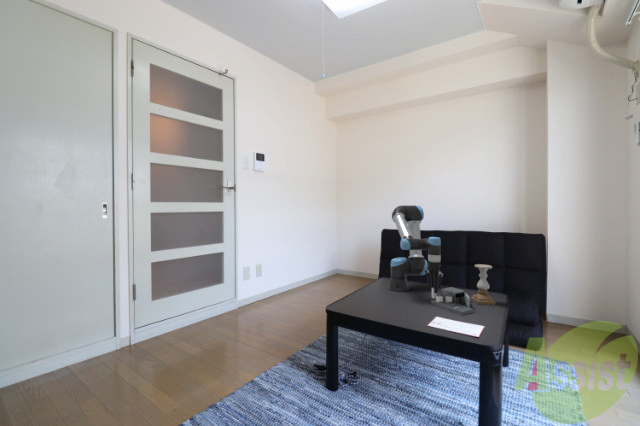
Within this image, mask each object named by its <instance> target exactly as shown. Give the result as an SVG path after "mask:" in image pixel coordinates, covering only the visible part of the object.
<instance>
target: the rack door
mask: <svg viewBox="0 0 640 426" xmlns="http://www.w3.org/2000/svg"><path fill="white" fill-rule="evenodd" d="M473 302H474V301H473V300H471V297H470V296H469V295H468V293H467V292H465V303H464V304H465V305H466V307H469V308H471V306H470V305H471V303H472V304H473Z"/></svg>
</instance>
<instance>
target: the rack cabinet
mask: <svg viewBox="0 0 640 426" xmlns="http://www.w3.org/2000/svg"><path fill="white" fill-rule="evenodd" d="M440 292H441V293H440V296H442V297H443V299H444V300H446V296H451V297H452V302H453V303H457V304H460V305H463V304H466V303H465V293H466V290H463V289H460V288H456V287H453V286H450V287H444V288H441V290H440Z"/></svg>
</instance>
